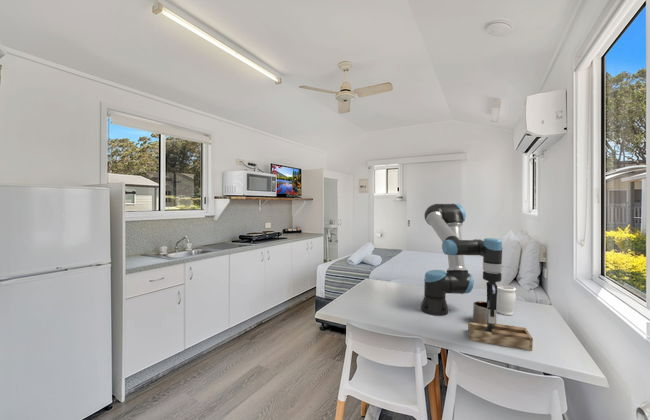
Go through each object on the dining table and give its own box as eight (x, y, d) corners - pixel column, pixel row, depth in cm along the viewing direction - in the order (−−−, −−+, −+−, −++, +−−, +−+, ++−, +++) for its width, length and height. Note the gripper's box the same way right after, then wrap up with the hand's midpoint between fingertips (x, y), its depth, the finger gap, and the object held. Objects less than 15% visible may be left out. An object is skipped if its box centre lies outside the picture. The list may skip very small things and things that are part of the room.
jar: (518, 317, 159) (519, 290, 159) (498, 315, 161) (499, 289, 161) (510, 310, 169) (511, 285, 169) (491, 308, 171) (492, 283, 171)
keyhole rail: (470, 340, 132) (470, 328, 132) (468, 330, 142) (468, 319, 142) (532, 350, 123) (532, 338, 123) (525, 339, 133) (525, 327, 133)
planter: (496, 328, 144) (496, 310, 144) (472, 323, 150) (472, 305, 149) (496, 321, 153) (496, 303, 153) (473, 316, 159) (474, 299, 159)
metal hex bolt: (485, 336, 132) (486, 302, 131) (483, 332, 136) (484, 299, 136) (497, 338, 130) (498, 303, 130) (495, 333, 135) (496, 300, 134)
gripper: (505, 276, 124) (503, 329, 124) (498, 268, 138) (497, 316, 139) (485, 274, 126) (484, 326, 127) (480, 267, 141) (479, 314, 142)
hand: (491, 321), depth 133 cm, fingers closed on metal hex bolt, 3 cm apart
